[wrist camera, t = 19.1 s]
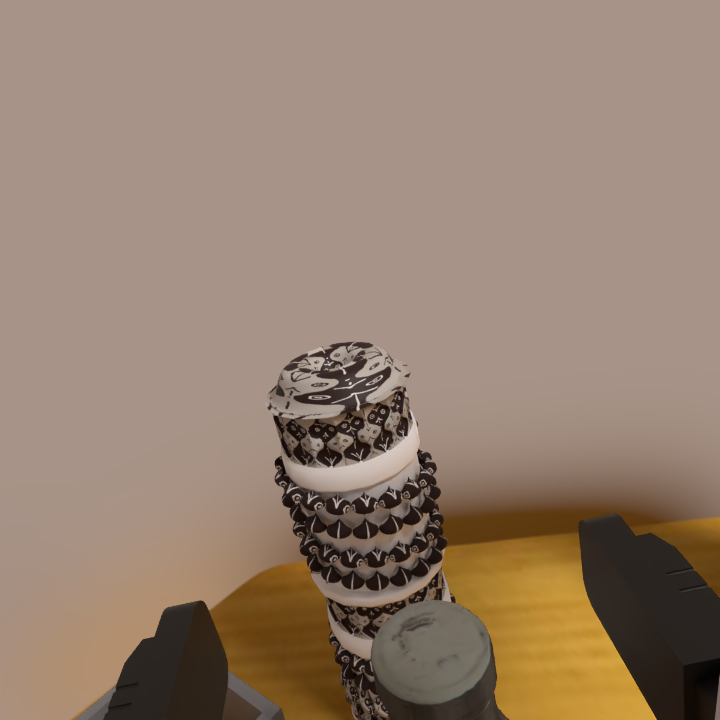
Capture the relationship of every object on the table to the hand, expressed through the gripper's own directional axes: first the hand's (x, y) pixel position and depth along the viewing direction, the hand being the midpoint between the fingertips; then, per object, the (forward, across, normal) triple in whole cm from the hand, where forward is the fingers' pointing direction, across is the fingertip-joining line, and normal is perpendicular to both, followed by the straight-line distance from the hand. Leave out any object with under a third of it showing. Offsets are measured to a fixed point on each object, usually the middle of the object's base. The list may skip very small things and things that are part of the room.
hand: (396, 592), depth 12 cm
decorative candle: (+19, +2, +27) cm, 33 cm away
